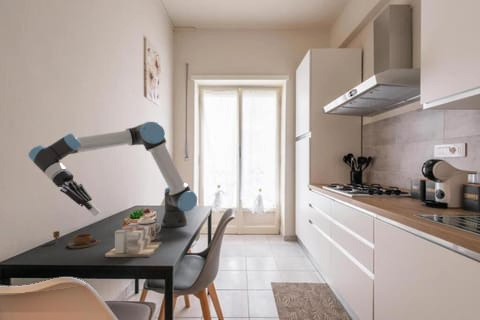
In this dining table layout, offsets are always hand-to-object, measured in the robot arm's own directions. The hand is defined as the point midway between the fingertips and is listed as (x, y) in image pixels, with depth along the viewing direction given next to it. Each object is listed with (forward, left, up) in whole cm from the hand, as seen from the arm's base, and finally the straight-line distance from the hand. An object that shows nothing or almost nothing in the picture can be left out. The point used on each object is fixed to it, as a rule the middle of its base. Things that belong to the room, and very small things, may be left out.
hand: (97, 213), depth 121 cm
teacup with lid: (-18, +17, -16) cm, 29 cm away
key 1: (+6, +13, -15) cm, 21 cm away
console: (0, +17, -16) cm, 23 cm away
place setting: (-11, -14, -17) cm, 25 cm away
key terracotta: (0, +13, -15) cm, 20 cm away
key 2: (-7, +13, -15) cm, 21 cm away
